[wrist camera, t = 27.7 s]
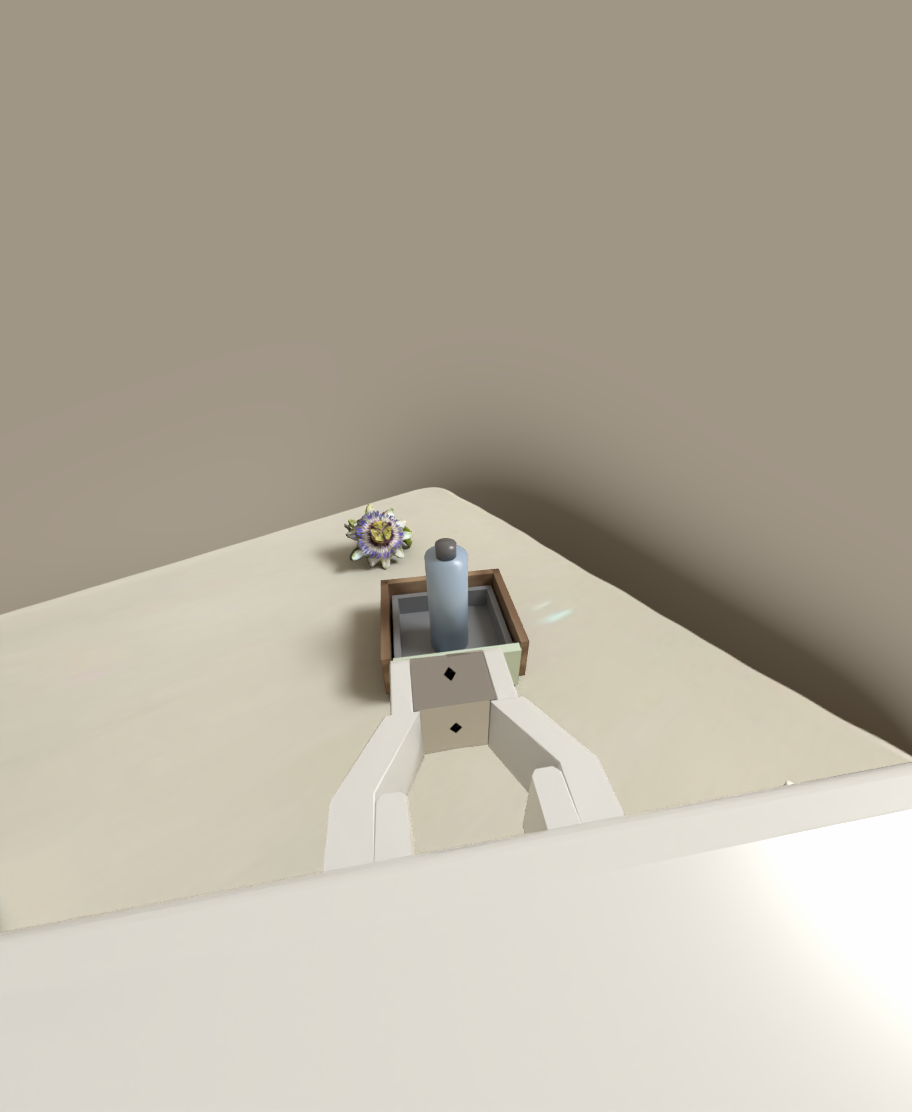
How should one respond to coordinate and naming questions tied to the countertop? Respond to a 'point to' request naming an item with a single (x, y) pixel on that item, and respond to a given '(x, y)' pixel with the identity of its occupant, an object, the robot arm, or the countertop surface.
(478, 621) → the drawer
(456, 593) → the lotion bottle
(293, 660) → the countertop surface
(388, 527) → the passion flower
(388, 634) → the brown open box
